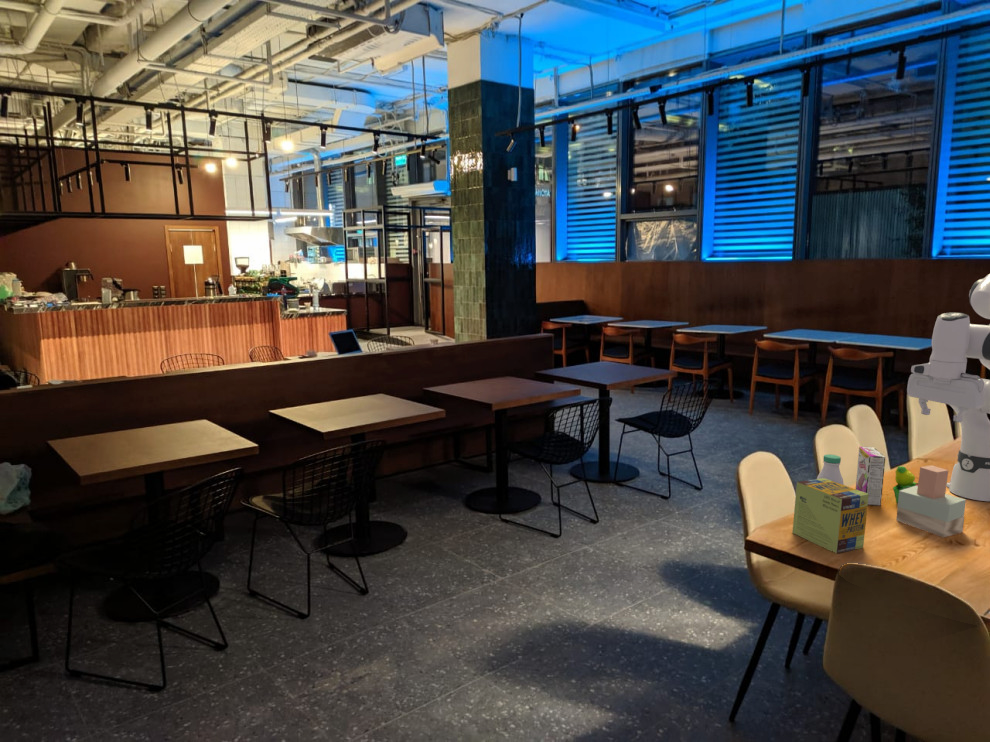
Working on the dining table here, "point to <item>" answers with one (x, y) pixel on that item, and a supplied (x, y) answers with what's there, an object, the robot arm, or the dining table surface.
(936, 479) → the block
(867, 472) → the candy bar box
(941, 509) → the tower top
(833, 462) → the milk bottle
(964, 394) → the robot arm
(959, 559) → the dining table surface
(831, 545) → the protein box
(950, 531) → the tower base
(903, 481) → the green toy figure
